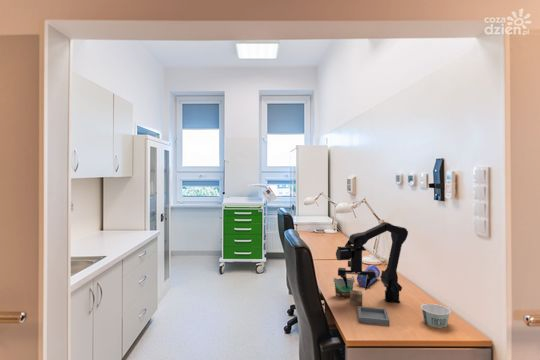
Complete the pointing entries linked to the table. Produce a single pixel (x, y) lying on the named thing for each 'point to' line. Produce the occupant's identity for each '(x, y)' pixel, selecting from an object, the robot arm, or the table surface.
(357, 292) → the cube
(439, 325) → the food container
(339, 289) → the food container
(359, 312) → the tray
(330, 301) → the table surface
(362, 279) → the pencil case
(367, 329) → the table surface
